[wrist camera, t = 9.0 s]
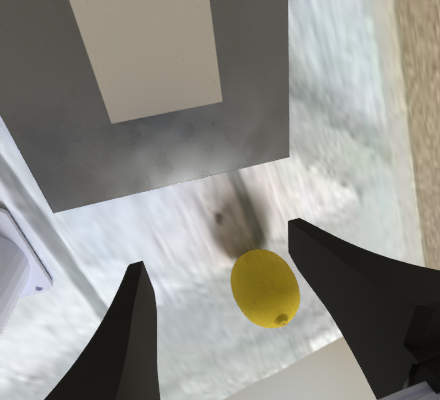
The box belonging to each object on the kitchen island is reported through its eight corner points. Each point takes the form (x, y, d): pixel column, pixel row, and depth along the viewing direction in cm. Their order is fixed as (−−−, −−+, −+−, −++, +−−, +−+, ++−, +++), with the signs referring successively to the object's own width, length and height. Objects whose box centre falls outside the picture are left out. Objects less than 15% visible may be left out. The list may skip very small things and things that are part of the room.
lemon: (213, 274, 27) (237, 348, 21) (233, 228, 25) (267, 294, 19) (261, 279, 29) (297, 348, 23) (283, 237, 27) (330, 299, 21)
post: (124, 87, 14) (109, 126, 7) (102, 14, 12) (57, -26, 6) (184, 77, 14) (225, 103, 8) (171, 4, 13) (206, -44, 6)
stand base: (56, 206, 20) (34, 249, 16) (-141, -170, 11) (-322, -310, 7) (283, 152, 23) (317, 177, 18) (276, -188, 14) (340, -297, 9)
